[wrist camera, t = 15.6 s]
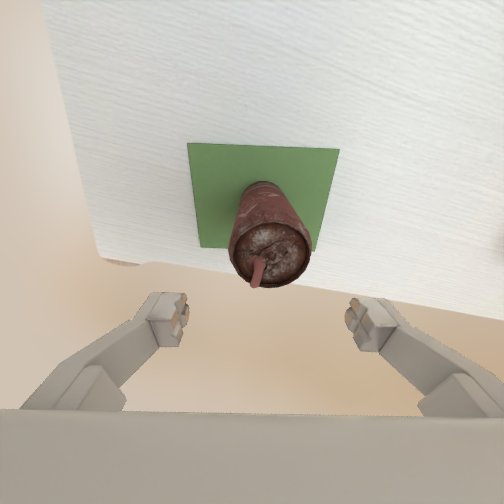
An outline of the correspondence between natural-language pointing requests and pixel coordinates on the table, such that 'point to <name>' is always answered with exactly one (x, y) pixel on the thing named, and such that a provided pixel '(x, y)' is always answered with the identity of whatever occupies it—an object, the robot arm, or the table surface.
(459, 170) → the table surface
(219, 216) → the felt cloth
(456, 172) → the table surface
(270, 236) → the can
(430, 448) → the robot arm
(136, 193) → the table surface
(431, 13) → the table surface
